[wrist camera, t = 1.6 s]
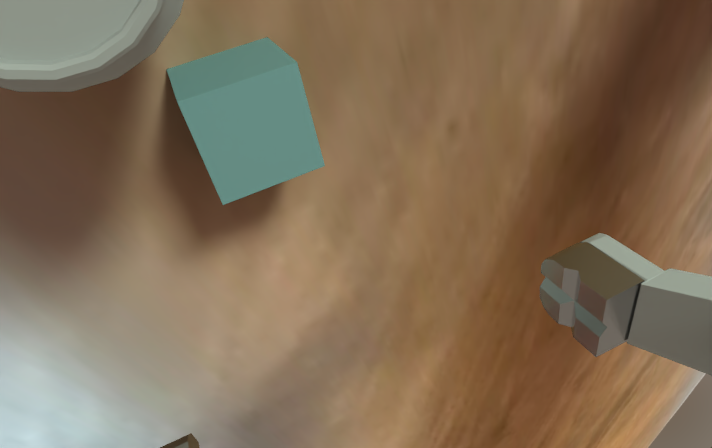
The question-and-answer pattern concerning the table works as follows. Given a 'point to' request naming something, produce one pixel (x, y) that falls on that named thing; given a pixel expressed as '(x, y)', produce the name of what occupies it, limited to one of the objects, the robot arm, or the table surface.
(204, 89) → the teal block
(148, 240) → the table surface
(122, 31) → the can
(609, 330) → the robot arm
